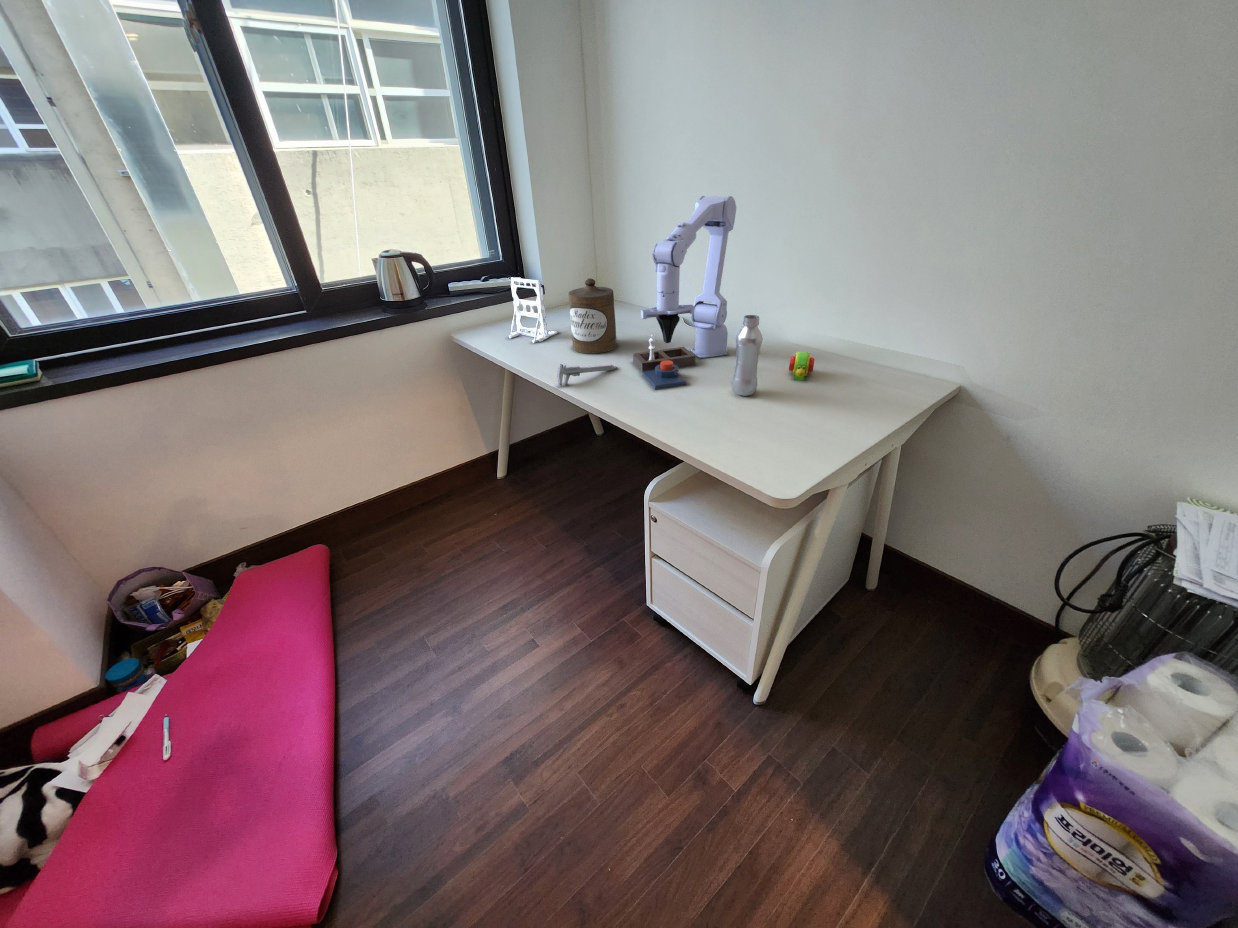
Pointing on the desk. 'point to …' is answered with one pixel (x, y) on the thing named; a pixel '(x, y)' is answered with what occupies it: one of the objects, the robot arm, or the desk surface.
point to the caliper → (579, 371)
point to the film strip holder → (541, 315)
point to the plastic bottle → (747, 356)
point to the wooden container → (592, 318)
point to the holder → (664, 358)
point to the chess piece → (651, 347)
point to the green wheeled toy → (801, 365)
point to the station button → (666, 365)
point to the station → (664, 377)
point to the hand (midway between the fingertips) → (667, 342)
